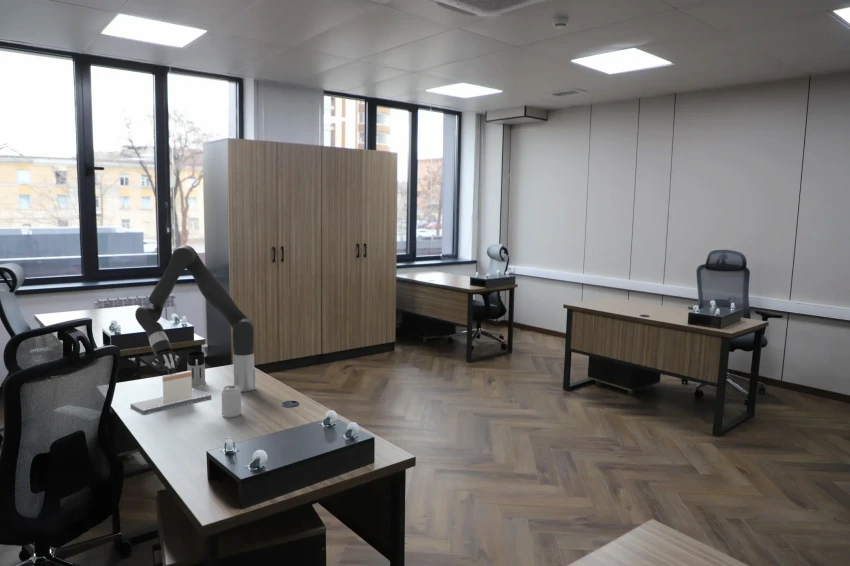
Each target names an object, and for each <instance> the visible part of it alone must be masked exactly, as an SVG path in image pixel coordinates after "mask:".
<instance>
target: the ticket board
mask: <svg viewBox="0 0 850 566" xmlns="http://www.w3.org/2000/svg"><path fill="white" fill-rule="evenodd" d="M205 399H206V400H210V399H212V394H210V393H208V392H206V391H203V390H201V389H198V388H196V389H192V398H190V399H186V400H181V401H177V402H173V403H168V404H163V396H160V397H156V398H151V399H147V400H142V401H138V402H133V403H130V408H131V409H133V410H135V411H136V410H137V412H138V411H139V412H138V413H140V412H141V413H140V414H142V415H145V414H150V413H149V412H151V413H155V412H158V410H159V411H162V409H163V410H167V408H168V409H172V408H175V406H176V407H180V406H184V405H183V404H185V405H188V404H187V403H189V404H192V403H191V402H193V403H197V402H196V401H198V402H201V400H202V401H205ZM179 405H180V406H179ZM171 407H172V408H171ZM154 411H155V412H154Z"/></svg>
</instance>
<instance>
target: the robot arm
mask: <svg viewBox="0 0 850 566" xmlns="http://www.w3.org/2000/svg"><path fill="white" fill-rule="evenodd" d="M185 270H186V271H188V272H189V274H190V275H191V276H192V278H193V279H194V281H195V283H196V285H197V287H198V290H199V291H200V293H201V294H202V296H203V297H204V299H206V301H207V302H208V303H209V304H210V305H211V307H213V308H214V309H215V310H216V311H217V312H219V313H220V314H221V315H222V316H223V317H224V318H225V319H226V320H227V322H228V323H229V325H230V326H231V328H232V351H233V385H236V386H239V389H240V390H241V393H242V392H243V393H244V392H251V391H255V390H256V369H255V344H254V343H255V338H254V337H255V335H254V334H255V333H254V331H255V329H254V328H255V327H254V323H253V322H252V321H251V319H250V318H249V317H247V315H246V314H244V312H242V310H241V309H240V308H239V307H238V306H237V304H236V303H235V301H234V300H233V298H232V297H231V295H230V294H229V292H228V291H227V290H226V288H224V286H223V285H222V284H221V283H220V281H219V280H218V279H217V277H215V275H213V273H212V272H211V271H210V270H209V269H208V268H207V266H206V265H205V263H204V262H203V261H202V259H201V257H200V256H199V255H198V252H197V251H196V250H195V249H194V247H192V246H190V245H187V244H183V245H180V246H178V247H177V248H175V249H174V250H173V252H172V254H171V257H170V260H169V262H168V265H167V267H166V269H165V271H164V272H163V275H162V276H161V278H160V280H159V281H158V282H157V284H156V286H155V287H154V289H153V290H152V292H151V293H150V295H149V297H148V301H149V303H150V304H152V306H145V305H143V306H142V305H140V306H139V307H137V308H136V310H135V313H134V314H135V319H136V322H137V323H138V324H139V326H141V327H142V329H143V331H145V333H146V335H147V339H148V341H149V345H150V347H151V349H152V352H153V355H154V356H155V357H154V358H155V359H154V360H153V361H152V363H151V365H152V366H154V367H155V368H157V369H159V370H160V371H162V372H167V375H170V374H175V373H178V372H177V371H176V370H177V369H178V366H179V364H180V363H181V359H182V357H183V356H182V355H176V353H175V352H174V350H173V346H172V345H171V342H170V340H169V337H168V336H167V334H166V332H165V330H164V327H163V325H162V324H161V323H160V322H158V321H159V320H160V319H161V318H162V313H163V310H164V306H165V304H166V302H167V300H168V299H169V297H170V296H171V294H172V292H173V290H174V288H175V286H176V284H177V281H178V279H179V278H180V276H181V275H182V274H183V273H184V271H185ZM141 327H140V328H141Z"/></svg>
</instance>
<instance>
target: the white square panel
mask: <svg viewBox="0 0 850 566" xmlns="http://www.w3.org/2000/svg"><path fill="white" fill-rule="evenodd" d="M192 390H193V386H192V374H191V371H187V370H186V371H180V372H177V373H175V374H170V375H169V374H165V375H162V397H163V404H168V403H173V402H177V401H181V400H186V399H190V398H192Z"/></svg>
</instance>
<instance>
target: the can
mask: <svg viewBox="0 0 850 566" xmlns="http://www.w3.org/2000/svg"><path fill="white" fill-rule="evenodd" d="M241 414H242V392H241V390H240V389H239V386H236V385H234V384H233V385H226V386H224V387H223V389H222V390H221V415H222V416H223V417H224V418H226V419H233V418H237V417H239V416H240V415H241Z"/></svg>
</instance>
